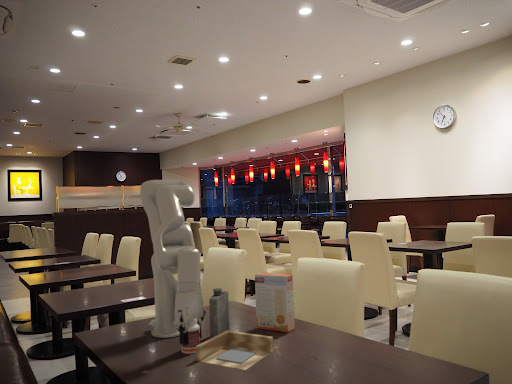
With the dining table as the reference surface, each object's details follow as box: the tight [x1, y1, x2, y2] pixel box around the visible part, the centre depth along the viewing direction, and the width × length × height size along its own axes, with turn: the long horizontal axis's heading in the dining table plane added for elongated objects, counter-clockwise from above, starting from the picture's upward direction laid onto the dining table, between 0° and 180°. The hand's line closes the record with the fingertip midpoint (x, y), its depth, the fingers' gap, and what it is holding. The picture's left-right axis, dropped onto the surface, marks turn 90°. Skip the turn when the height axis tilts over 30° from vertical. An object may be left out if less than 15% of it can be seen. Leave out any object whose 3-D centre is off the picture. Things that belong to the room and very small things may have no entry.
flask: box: [208, 287, 230, 339], centre depth 151 cm, size 4×14×18 cm, turn 165°
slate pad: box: [216, 349, 256, 364], centre depth 131 cm, size 9×9×1 cm
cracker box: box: [254, 272, 296, 333], centre depth 162 cm, size 14×6×21 cm, turn 58°
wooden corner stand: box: [195, 330, 274, 371], centre depth 132 cm, size 18×18×5 cm
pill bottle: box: [180, 318, 201, 355], centre depth 139 cm, size 6×6×11 cm
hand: (190, 340), depth 139 cm, fingers closed on pill bottle, 6 cm apart
